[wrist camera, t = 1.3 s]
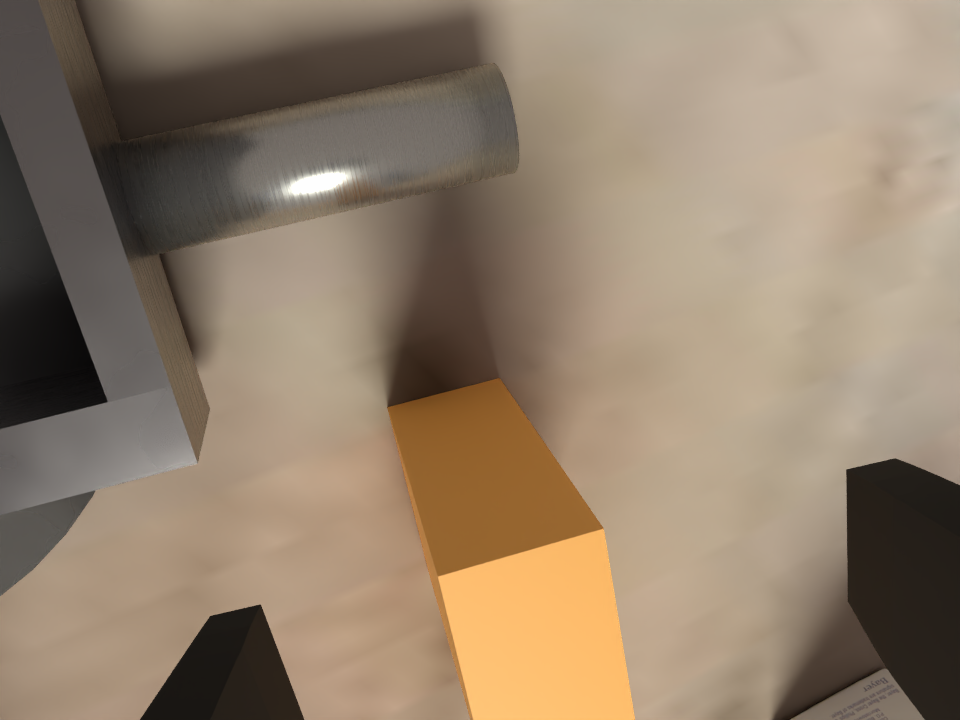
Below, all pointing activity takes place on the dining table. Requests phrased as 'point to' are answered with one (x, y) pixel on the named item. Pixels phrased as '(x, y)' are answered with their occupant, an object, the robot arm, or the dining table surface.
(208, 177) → the rosette joint
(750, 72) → the dining table surface
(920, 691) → the robot arm
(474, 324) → the dining table surface
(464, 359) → the dining table surface
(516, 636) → the orange rectangular block
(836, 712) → the medicine box
